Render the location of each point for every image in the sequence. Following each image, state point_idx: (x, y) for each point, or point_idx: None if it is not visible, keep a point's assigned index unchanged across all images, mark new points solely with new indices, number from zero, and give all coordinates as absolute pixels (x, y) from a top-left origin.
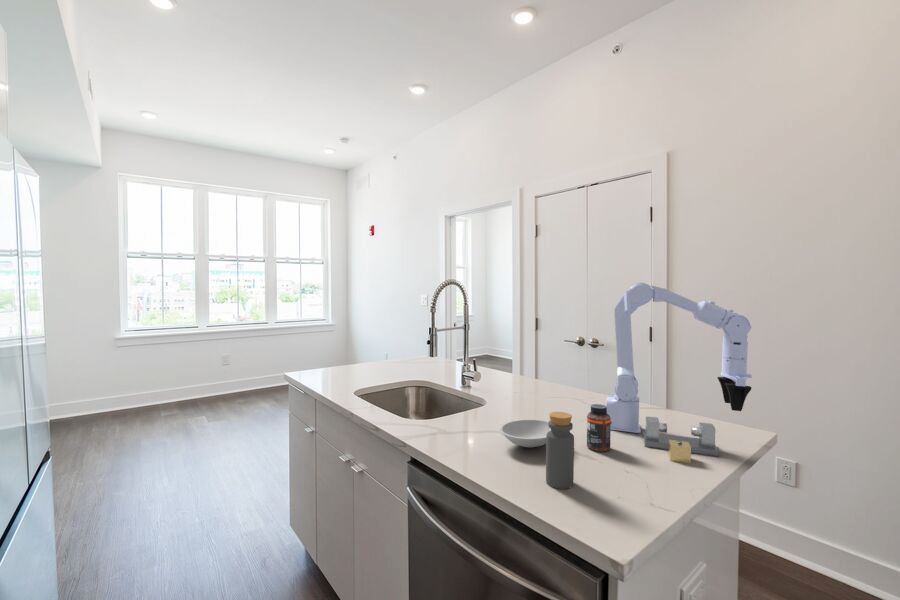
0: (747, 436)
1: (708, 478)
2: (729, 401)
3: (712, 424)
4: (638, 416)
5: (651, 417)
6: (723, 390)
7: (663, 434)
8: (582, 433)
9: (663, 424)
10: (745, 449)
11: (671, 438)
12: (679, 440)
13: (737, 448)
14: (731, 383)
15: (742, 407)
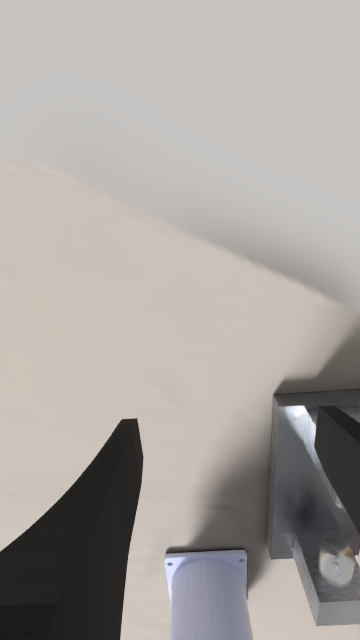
0: (92, 264)
1: None
2: (140, 449)
3: None
4: (221, 605)
5: (325, 615)
6: (125, 557)
7: (278, 520)
8: (296, 633)
9: (350, 575)
10: (271, 299)
11: (310, 504)
12: (322, 488)
13: (271, 323)
14: (99, 610)
15: (352, 418)
